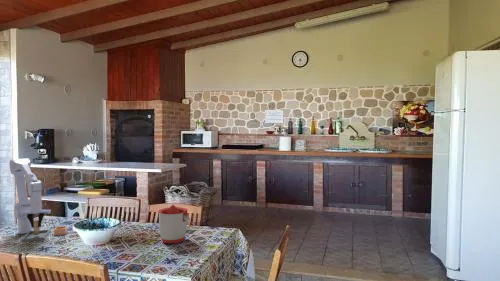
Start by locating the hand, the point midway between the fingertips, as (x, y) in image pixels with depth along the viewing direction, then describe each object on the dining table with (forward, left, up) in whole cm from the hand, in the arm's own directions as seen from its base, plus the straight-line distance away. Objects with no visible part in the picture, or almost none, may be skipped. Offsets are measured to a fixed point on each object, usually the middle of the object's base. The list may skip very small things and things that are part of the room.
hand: (36, 226), depth 205 cm
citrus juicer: (+30, +74, -6) cm, 80 cm away
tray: (0, 0, -6) cm, 6 cm away
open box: (-2, +12, -6) cm, 14 cm away
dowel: (0, 0, -4) cm, 4 cm away
